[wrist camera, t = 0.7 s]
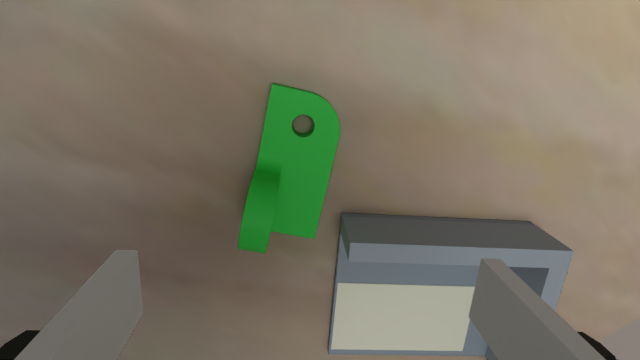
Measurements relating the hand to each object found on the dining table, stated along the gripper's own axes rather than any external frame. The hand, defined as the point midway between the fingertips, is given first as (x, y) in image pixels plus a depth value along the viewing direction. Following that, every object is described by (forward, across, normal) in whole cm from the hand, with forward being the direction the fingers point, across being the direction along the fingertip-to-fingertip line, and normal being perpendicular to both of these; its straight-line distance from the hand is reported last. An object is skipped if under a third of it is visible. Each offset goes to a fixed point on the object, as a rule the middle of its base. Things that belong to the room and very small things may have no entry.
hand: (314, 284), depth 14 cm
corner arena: (+18, +13, -12) cm, 26 cm away
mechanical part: (+19, -1, 0) cm, 19 cm away
